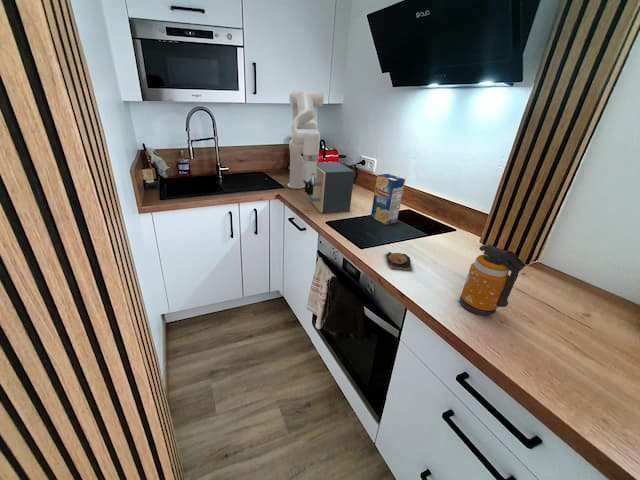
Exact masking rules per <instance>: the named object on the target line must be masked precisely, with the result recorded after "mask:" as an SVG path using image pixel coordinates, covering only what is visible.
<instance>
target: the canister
mask: <svg viewBox="0 0 640 480" xmlns="http://www.w3.org/2000/svg"><path fill="white" fill-rule="evenodd" d="M479 251H480V252H483V253H482V254H480V255H478V256H476V258H475V260H474V262H473V263H471V265H470V267H469V270H468V273H467V276H466V279H465V282H464V286H463V288H462V291H461V294H460V297H459V302H460V304H461V305H462V306H463V307H464V308H465V309H467V310H468V311H470V312H472V313H475V314H478V315H481V316H492V315H494V314H495V313H496V311H497V308H506V307H507V306H508V305H509V301H508V299H509V297H510V294H511V291H512V289H513V287H514V285H515V283H516V282H517V279H518V277H519V273H520V272H521V271H522V270H523V269H524V268H525V267H526V266H527V265H526V264H525V262H524V261H522V259H520V258H519V256H517V255H516V253H515V252H513V250H505V249H502V248H500V247H497V246H494V245H493V244H490V243H489V244H482V245H481V246H479ZM509 273H510V274H509Z"/></svg>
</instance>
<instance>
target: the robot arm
mask: <svg viewBox="0 0 640 480" xmlns="http://www.w3.org/2000/svg"><path fill="white" fill-rule="evenodd" d="M288 101H289V105H290V108H291V114H292V115H291V116H292V117H291V118H292V119H291V129H290V131H291V140H289V142H288V149H289V182H288V183H287V185H286V186H287V188H289V189H294V190H301V189H304V193H306V195H307V196H309V195H313V187H314V182H315V181H316V176H317V163H319V156H320V155H319V154H320V141H321V132H320V131H319V126H318V123H317V121H315V120H314V117H315V116H316V115H315V114H316V113H315V108H322V107H323V105H324V103H325V95H324V93H323V92H322V90H320V89H319V90H317V89H316V90H315V89H312V90H311V89H304V90H294V91H291V92H290V93H289V100H288ZM309 183H310V184H309Z"/></svg>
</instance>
